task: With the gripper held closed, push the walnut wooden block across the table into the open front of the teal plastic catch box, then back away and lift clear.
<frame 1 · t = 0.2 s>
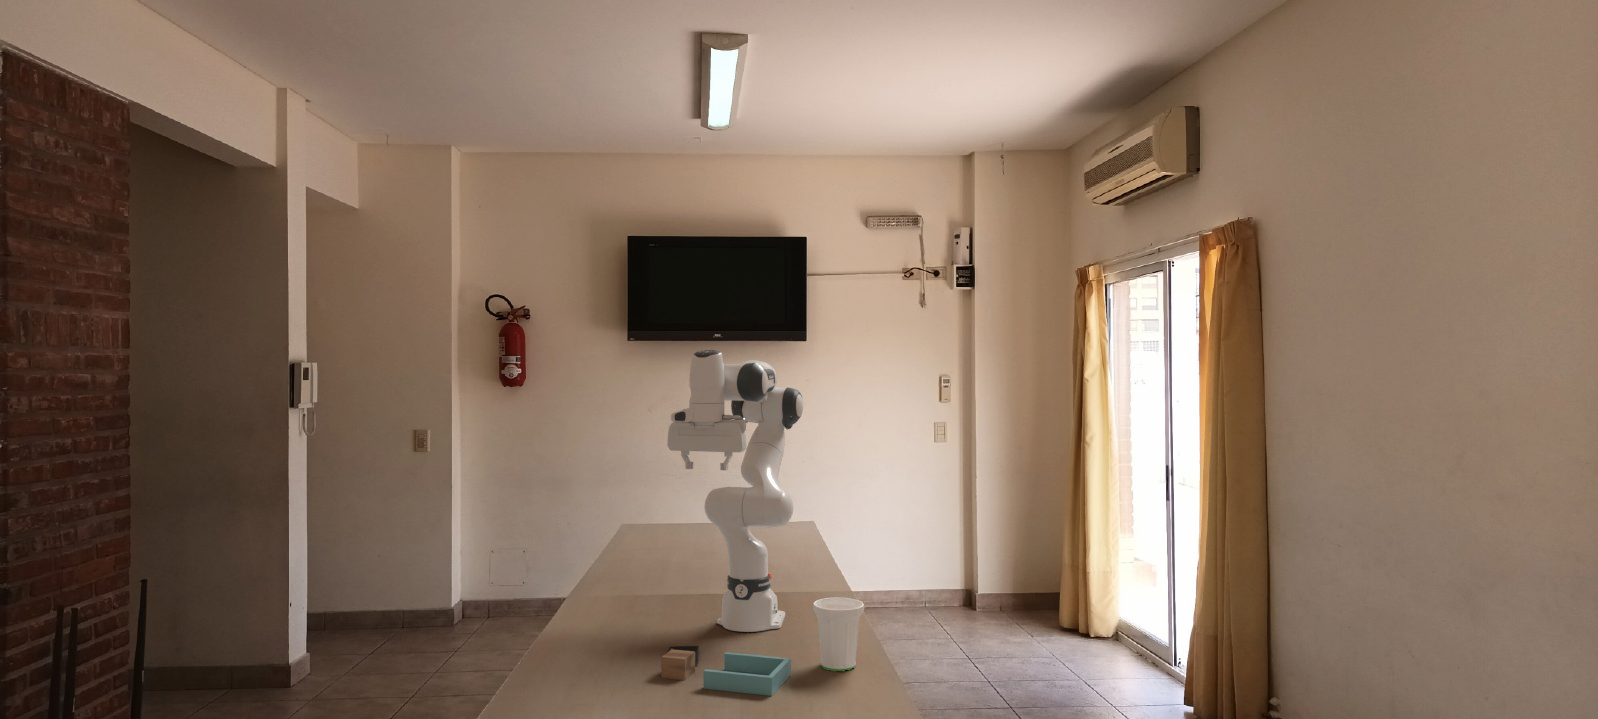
hand: (706, 469, 231), 47 cm above the table, tool pointing down, fingers open, 8 cm apart
phone: (683, 660, 231), on the table
walnut block: (678, 675, 218), on the table
cup: (838, 666, 225), on the table
catch box: (745, 681, 214), on the table
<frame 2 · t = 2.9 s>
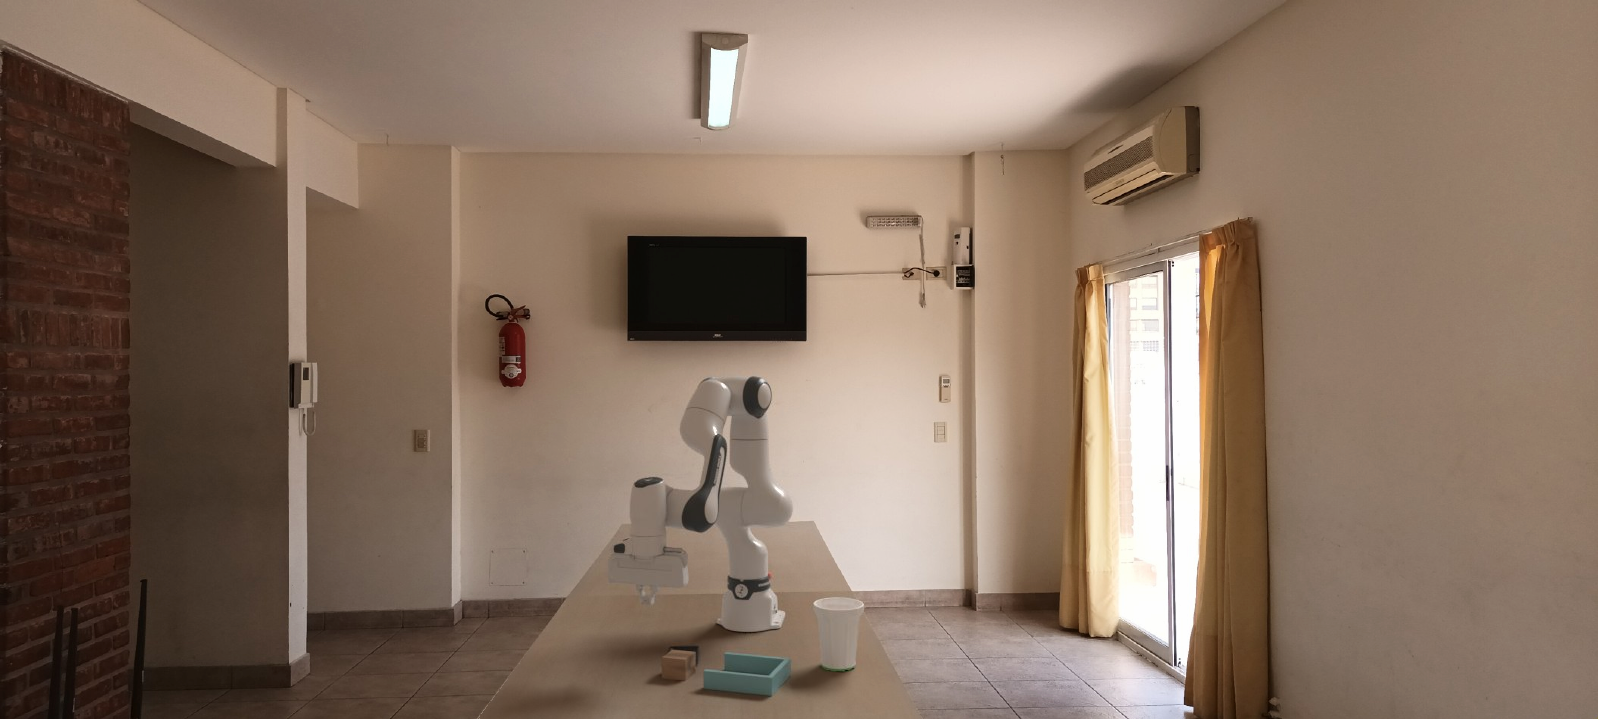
hand: (647, 603, 221), 16 cm above the table, tool pointing down, fingers closed
nothing on the table moved.
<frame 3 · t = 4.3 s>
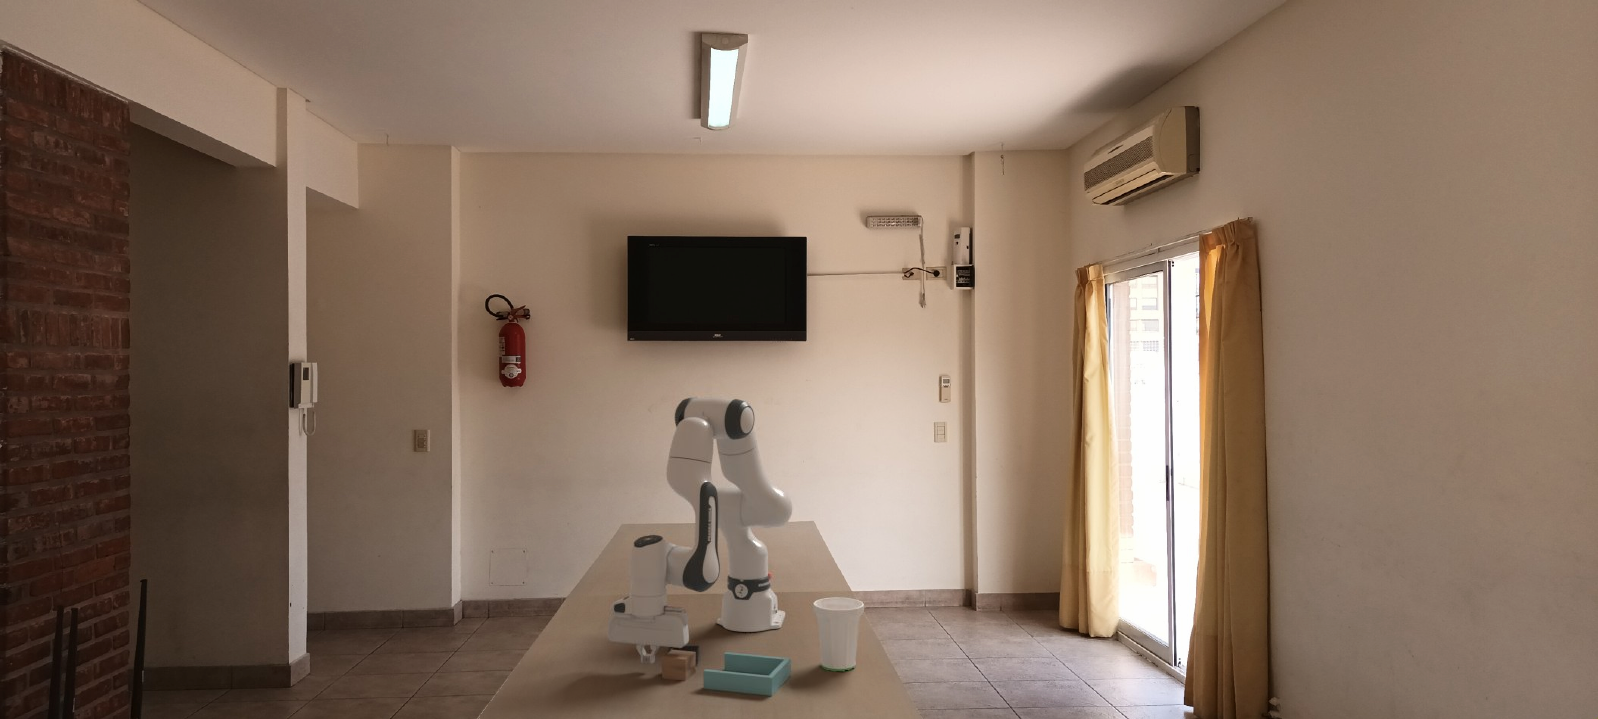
hand: (647, 662, 221), 2 cm above the table, tool pointing down, fingers closed
nothing on the table moved.
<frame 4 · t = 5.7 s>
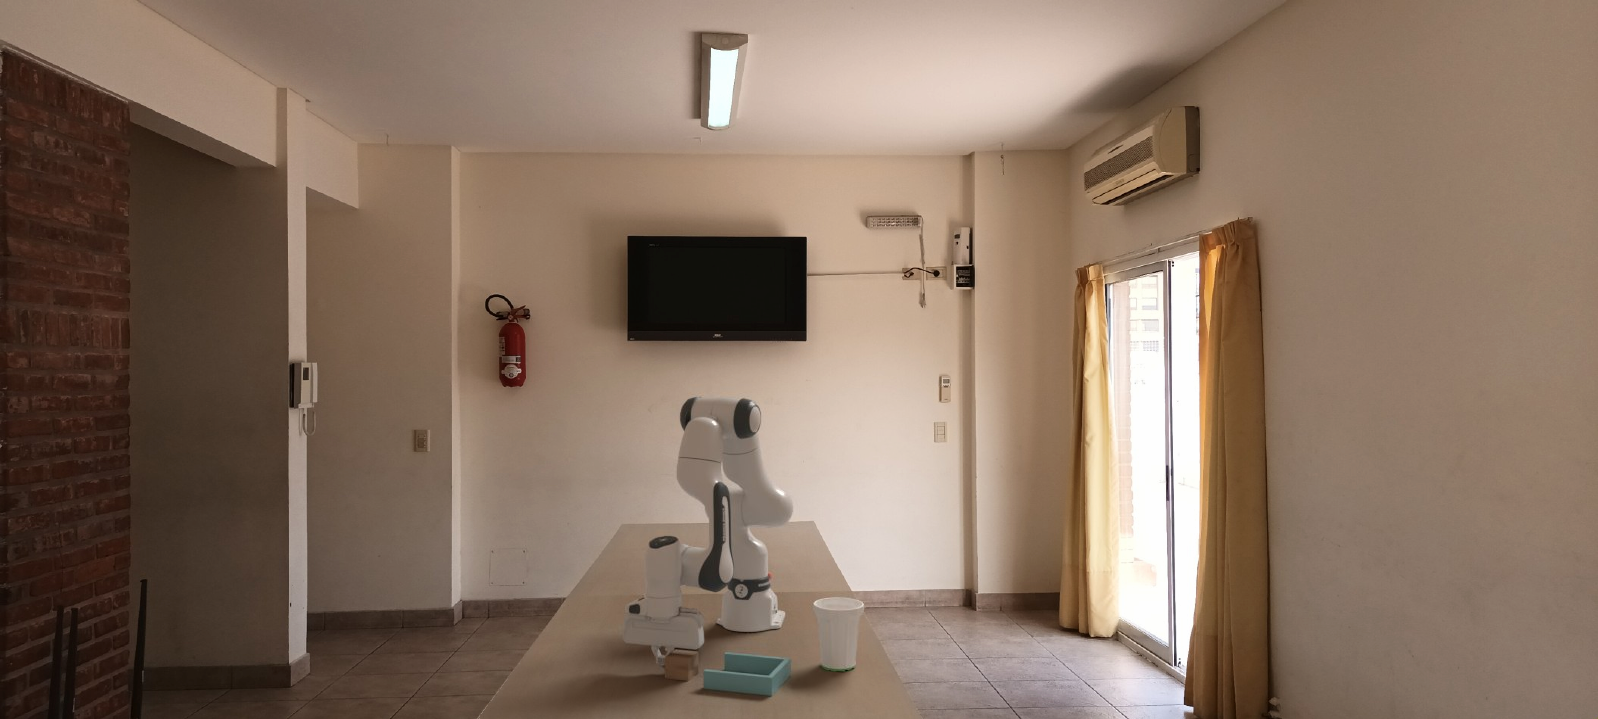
hand: (662, 663, 220), 2 cm above the table, tool pointing down, fingers closed
walnut block: (681, 675, 218), on the table, touching gripper
everything else where it was.
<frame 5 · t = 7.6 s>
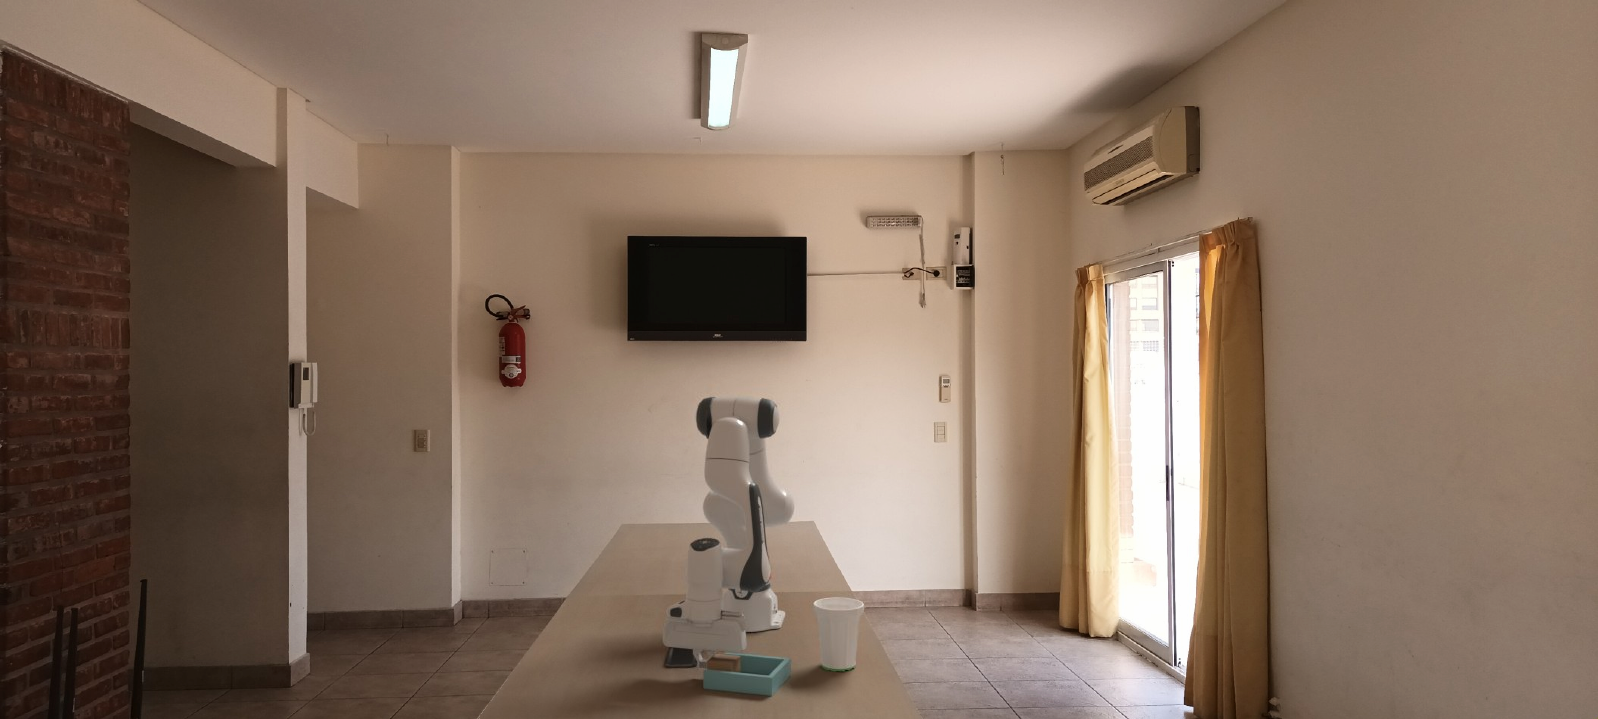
hand: (704, 668, 216), 2 cm above the table, tool pointing down, fingers closed
walnut block: (723, 679, 215), on the table, touching gripper
everything else where it was.
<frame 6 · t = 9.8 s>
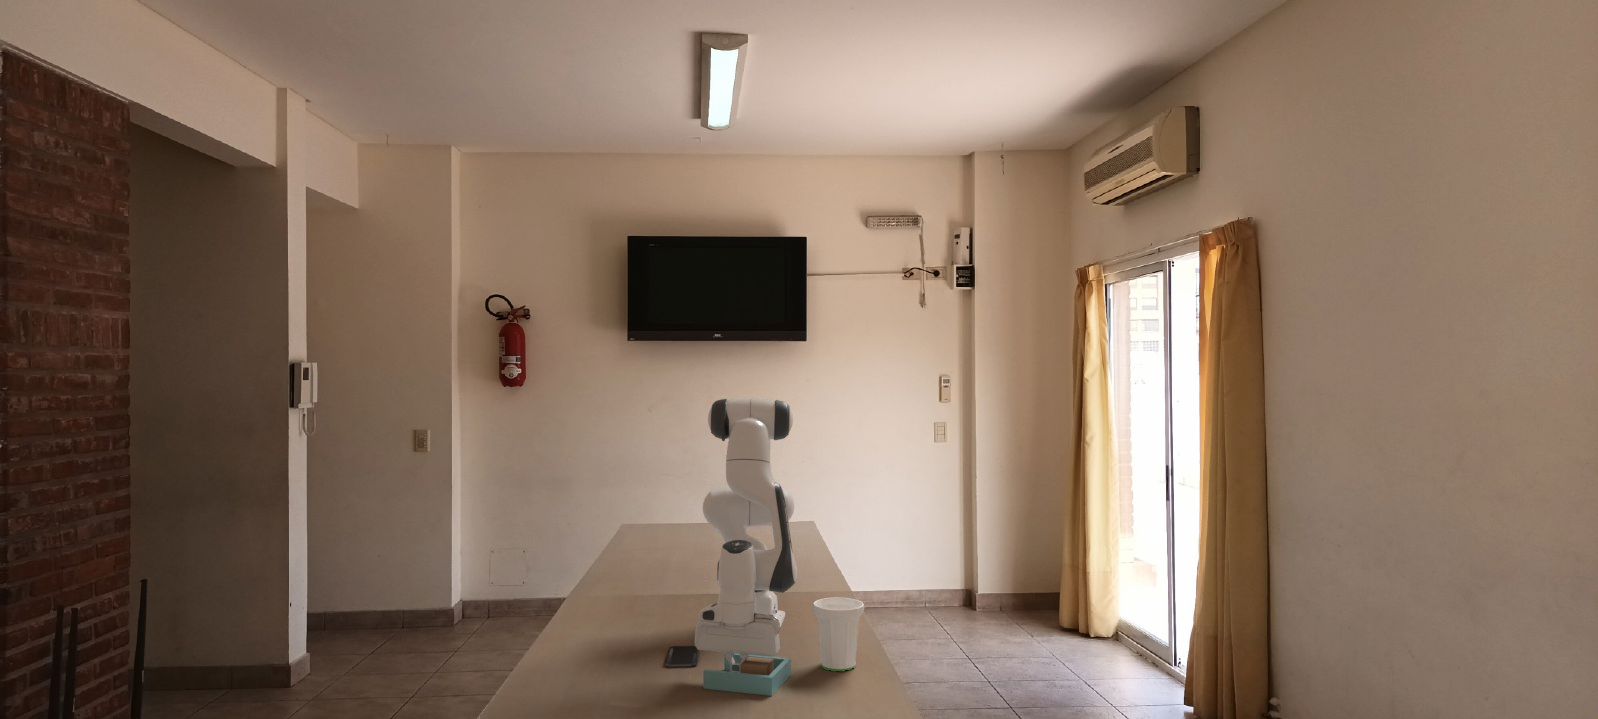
hand: (737, 671, 214), 2 cm above the table, tool pointing down, fingers closed
walnut block: (757, 683, 212), on the table, touching gripper
everything else where it was.
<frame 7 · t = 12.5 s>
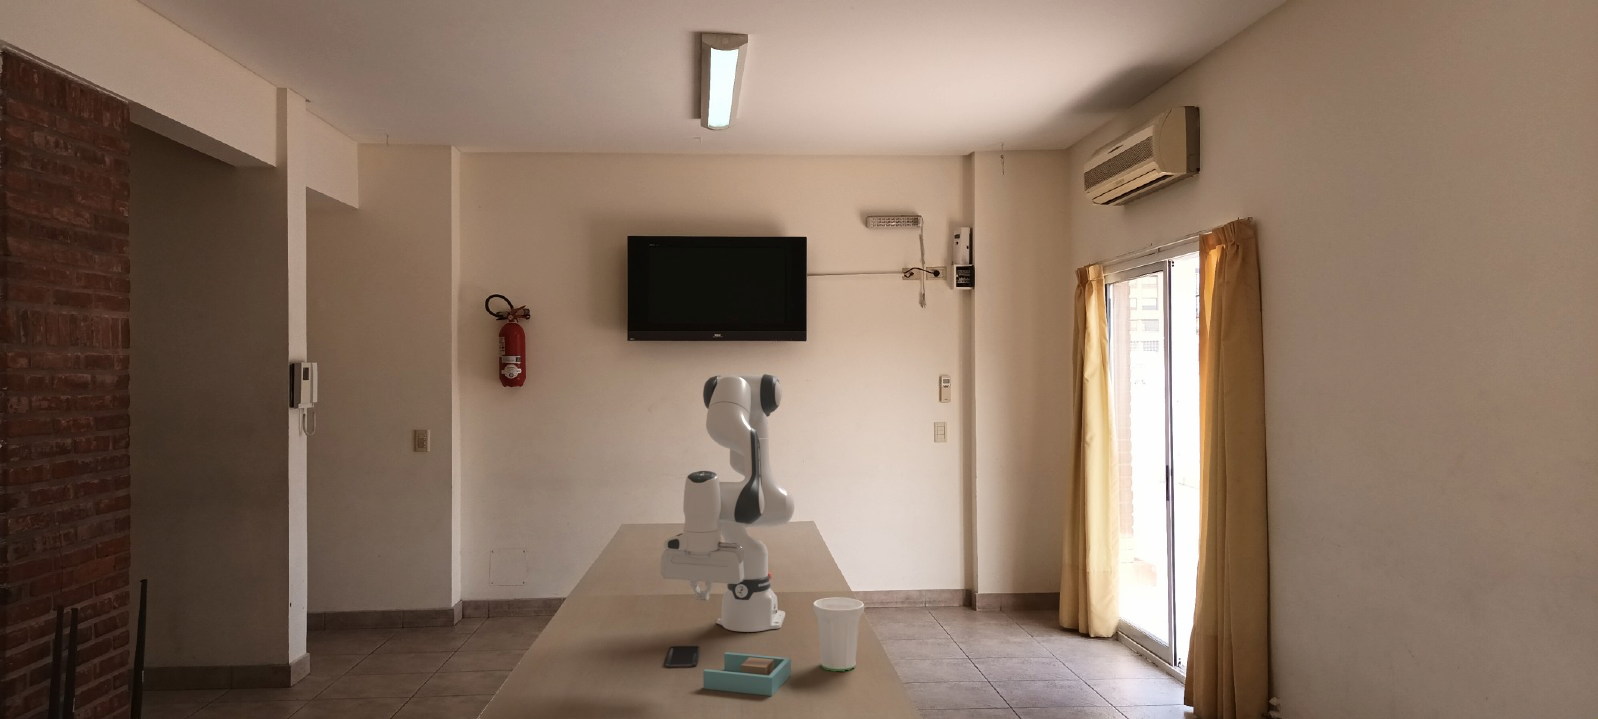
hand: (702, 599, 217), 18 cm above the table, tool pointing down, fingers closed
walnut block: (757, 683, 212), on the table
everything else where it was.
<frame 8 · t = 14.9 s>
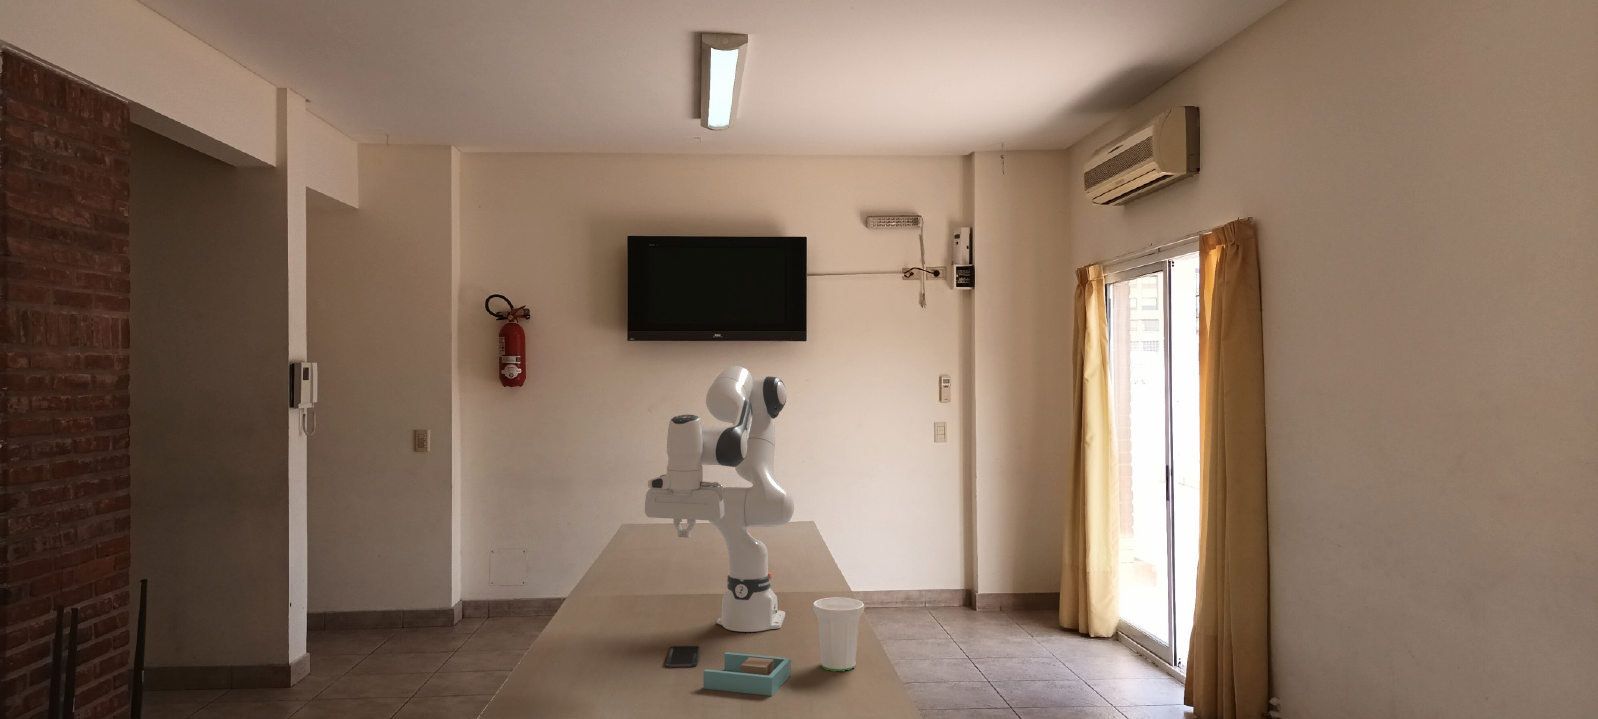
hand: (684, 537, 227), 31 cm above the table, tool pointing down, fingers closed
nothing on the table moved.
at the end: walnut block inside the target area (1.3 cm from its centre), on the table; walnut block tilted 0°; walnut block moved 20.0 cm from its start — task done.
